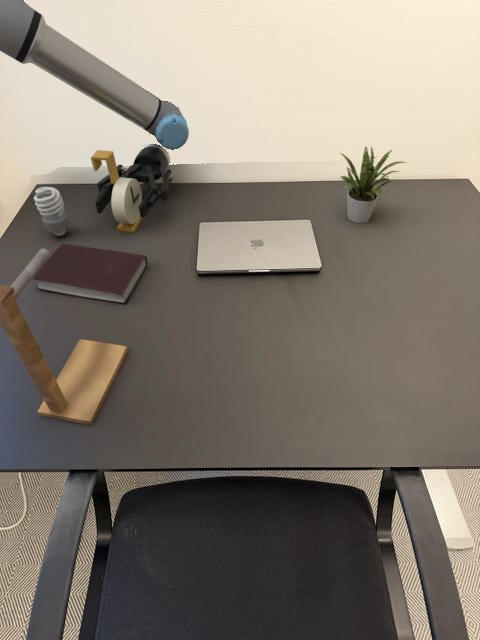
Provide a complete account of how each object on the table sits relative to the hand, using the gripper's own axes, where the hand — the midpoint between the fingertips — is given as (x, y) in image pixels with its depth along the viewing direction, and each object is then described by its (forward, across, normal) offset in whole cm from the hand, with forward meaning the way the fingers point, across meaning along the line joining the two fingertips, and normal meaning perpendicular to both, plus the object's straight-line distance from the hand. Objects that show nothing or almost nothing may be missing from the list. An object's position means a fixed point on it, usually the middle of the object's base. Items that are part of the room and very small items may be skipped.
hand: (119, 210), depth 103 cm
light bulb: (+3, +14, -7) cm, 16 cm away
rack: (+40, -9, -6) cm, 42 cm away
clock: (-4, +2, -7) cm, 8 cm away
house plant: (-16, -53, -7) cm, 56 cm away
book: (+15, +1, -7) cm, 17 cm away
